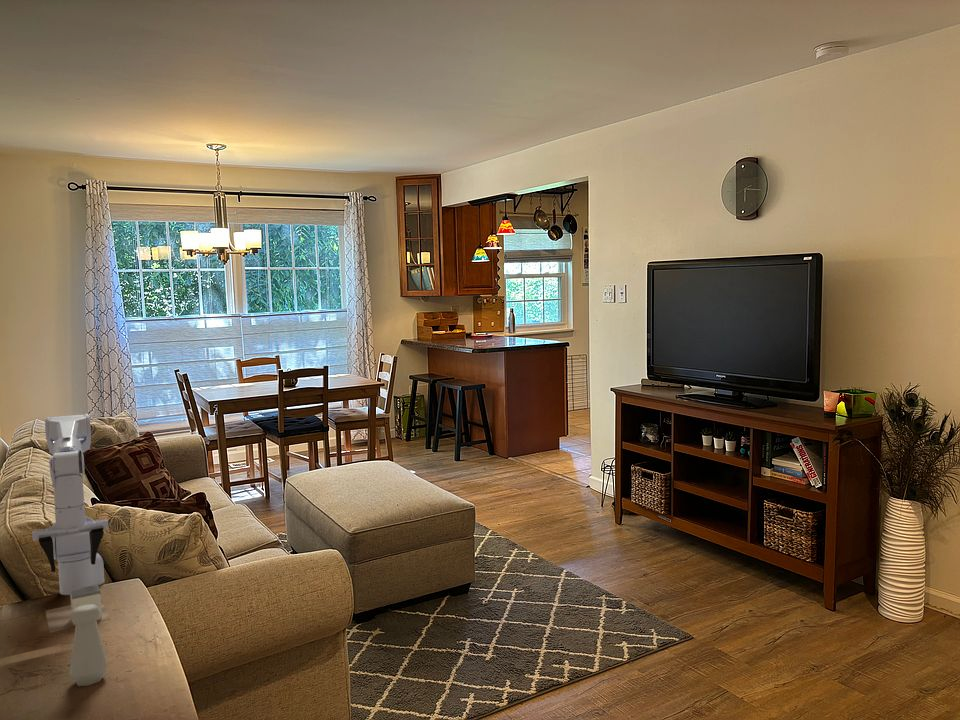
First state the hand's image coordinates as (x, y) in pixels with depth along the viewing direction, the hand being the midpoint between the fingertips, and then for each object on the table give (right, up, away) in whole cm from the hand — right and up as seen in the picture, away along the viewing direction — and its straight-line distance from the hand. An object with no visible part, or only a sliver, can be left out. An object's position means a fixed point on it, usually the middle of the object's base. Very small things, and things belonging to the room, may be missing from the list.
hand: (73, 567), depth 159 cm
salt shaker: (+22, -10, -34) cm, 41 cm away
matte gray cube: (+6, -9, -6) cm, 13 cm away
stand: (+3, -10, -4) cm, 11 cm away
